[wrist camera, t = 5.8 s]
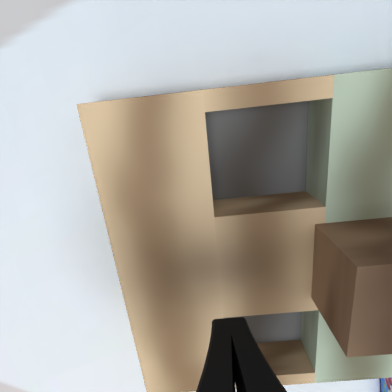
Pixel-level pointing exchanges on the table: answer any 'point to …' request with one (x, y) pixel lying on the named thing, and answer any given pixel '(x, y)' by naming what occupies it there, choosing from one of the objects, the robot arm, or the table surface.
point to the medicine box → (386, 384)
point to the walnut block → (355, 283)
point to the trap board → (239, 214)
